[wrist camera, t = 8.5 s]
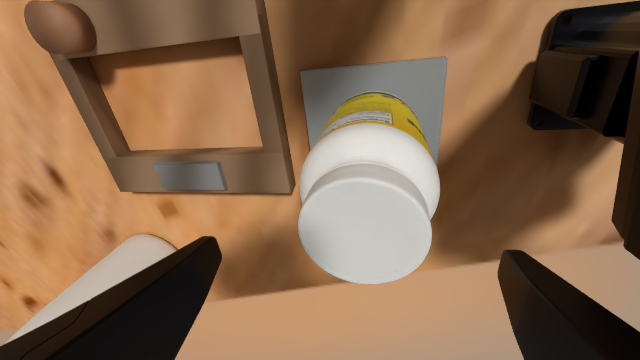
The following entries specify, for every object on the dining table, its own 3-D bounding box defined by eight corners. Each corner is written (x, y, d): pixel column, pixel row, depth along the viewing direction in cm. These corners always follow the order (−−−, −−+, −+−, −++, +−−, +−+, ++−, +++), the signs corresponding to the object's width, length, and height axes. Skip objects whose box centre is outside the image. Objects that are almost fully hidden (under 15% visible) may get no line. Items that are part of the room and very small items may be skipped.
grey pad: (444, 56, 17) (447, 58, 16) (432, 184, 21) (434, 191, 20) (303, 70, 19) (300, 72, 18) (318, 184, 23) (315, 190, 22)
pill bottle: (420, 170, 20) (455, 304, 10) (336, 177, 21) (297, 297, 12) (418, 80, 17) (463, 147, 7) (321, 95, 18) (255, 166, 9)
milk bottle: (115, 236, 32) (-195, 477, 15) (163, 226, 29) (-144, 502, 12) (153, 283, 35) (-68, 528, 18) (200, 277, 32) (-5, 557, 15)
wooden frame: (258, -33, 17) (230, -47, 14) (295, 184, 23) (282, 207, 20) (47, 7, 20) (-11, 4, 17) (132, 183, 27) (101, 203, 24)
